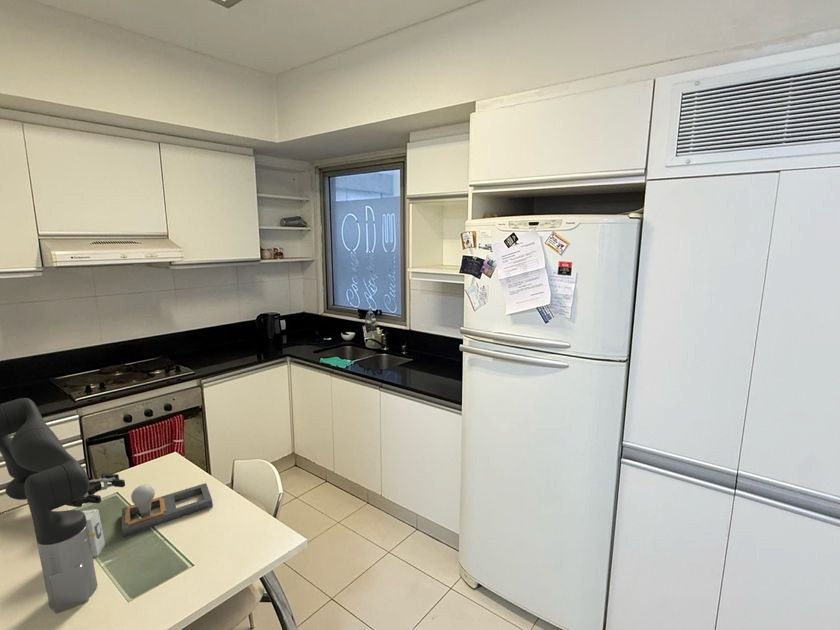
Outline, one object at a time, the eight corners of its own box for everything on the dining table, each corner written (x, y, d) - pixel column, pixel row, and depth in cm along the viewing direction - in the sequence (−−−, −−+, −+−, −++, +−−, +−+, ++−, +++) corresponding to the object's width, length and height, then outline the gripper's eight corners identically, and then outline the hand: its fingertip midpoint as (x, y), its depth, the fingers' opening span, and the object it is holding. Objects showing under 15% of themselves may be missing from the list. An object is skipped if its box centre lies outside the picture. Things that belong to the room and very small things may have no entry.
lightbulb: (129, 522, 131) (124, 490, 129) (147, 510, 136) (143, 479, 134) (145, 526, 129) (140, 493, 127) (162, 513, 135) (158, 482, 133)
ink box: (105, 544, 121) (99, 507, 119) (97, 557, 116) (91, 518, 114) (70, 550, 119) (63, 512, 117) (60, 564, 114) (53, 524, 112)
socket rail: (212, 506, 138) (212, 499, 137) (123, 536, 124) (121, 528, 124) (206, 489, 147) (206, 482, 147) (123, 515, 134) (121, 507, 134)
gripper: (44, 488, 128) (89, 493, 125) (88, 464, 142) (129, 468, 139) (48, 511, 130) (93, 516, 127) (91, 484, 143) (133, 489, 141)
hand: (112, 491), depth 133 cm, fingers open, 8 cm apart
